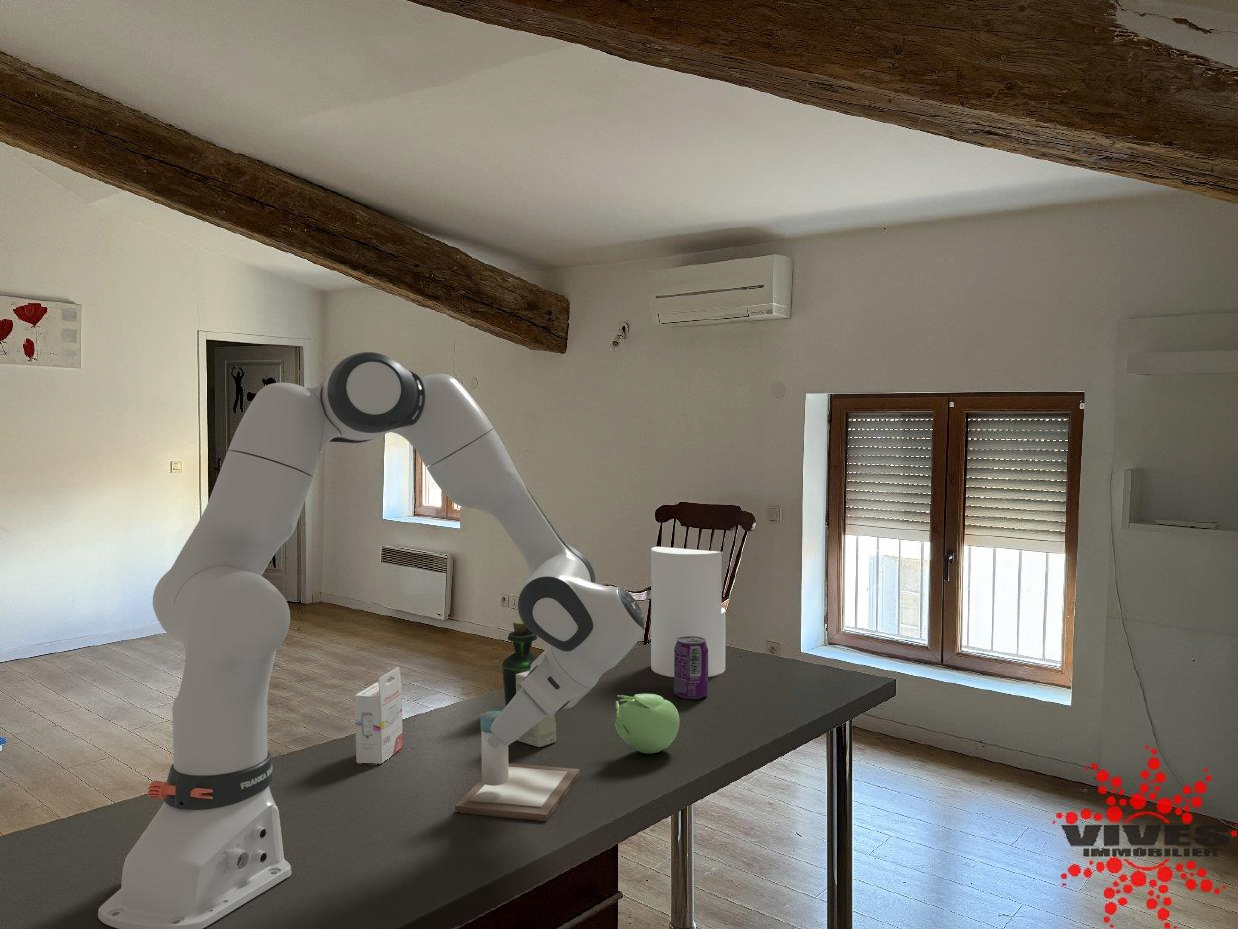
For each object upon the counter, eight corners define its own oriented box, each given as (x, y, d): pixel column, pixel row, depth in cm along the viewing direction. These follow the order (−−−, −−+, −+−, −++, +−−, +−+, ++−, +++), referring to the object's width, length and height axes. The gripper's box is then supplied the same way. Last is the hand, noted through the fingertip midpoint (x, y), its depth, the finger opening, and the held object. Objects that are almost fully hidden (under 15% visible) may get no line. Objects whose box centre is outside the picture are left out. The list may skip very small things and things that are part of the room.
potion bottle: (533, 719, 179) (532, 627, 178) (495, 715, 182) (494, 624, 181) (549, 707, 187) (549, 618, 186) (512, 703, 189) (512, 616, 189)
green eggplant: (631, 738, 169) (631, 678, 168) (687, 749, 163) (687, 687, 163) (597, 759, 158) (597, 695, 158) (655, 771, 153) (655, 705, 152)
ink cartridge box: (377, 746, 164) (376, 664, 164) (403, 748, 163) (402, 665, 163) (354, 763, 156) (353, 677, 155) (381, 766, 155) (380, 678, 154)
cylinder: (703, 682, 205) (703, 556, 204) (637, 671, 215) (637, 550, 214) (737, 665, 220) (738, 547, 219) (674, 655, 229) (674, 542, 228)
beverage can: (713, 694, 196) (714, 638, 196) (698, 703, 190) (698, 644, 190) (684, 689, 200) (684, 634, 199) (668, 697, 194) (668, 640, 193)
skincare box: (557, 742, 166) (557, 675, 166) (539, 748, 163) (538, 679, 163) (533, 734, 171) (533, 668, 170) (515, 740, 168) (514, 673, 167)
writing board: (546, 821, 133) (546, 813, 133) (455, 812, 136) (455, 804, 136) (579, 775, 151) (579, 768, 151) (498, 768, 154) (498, 761, 154)
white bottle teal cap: (503, 787, 138) (502, 720, 138) (477, 784, 139) (476, 718, 139) (513, 776, 142) (512, 712, 142) (487, 774, 143) (486, 710, 143)
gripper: (565, 645, 148) (507, 702, 151) (523, 679, 128) (457, 744, 131) (592, 674, 147) (533, 731, 150) (554, 714, 127) (488, 778, 130)
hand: (498, 737), depth 140 cm, fingers closed on white bottle teal cap, 4 cm apart
